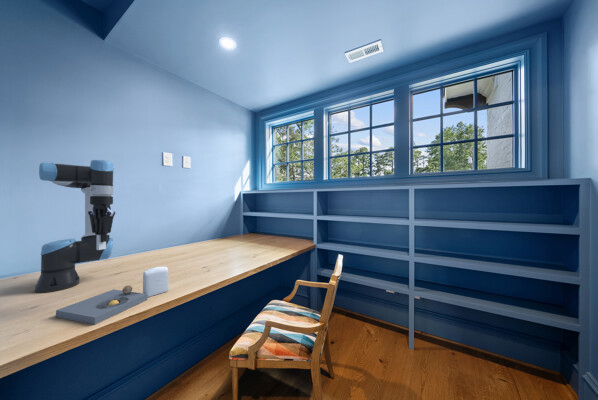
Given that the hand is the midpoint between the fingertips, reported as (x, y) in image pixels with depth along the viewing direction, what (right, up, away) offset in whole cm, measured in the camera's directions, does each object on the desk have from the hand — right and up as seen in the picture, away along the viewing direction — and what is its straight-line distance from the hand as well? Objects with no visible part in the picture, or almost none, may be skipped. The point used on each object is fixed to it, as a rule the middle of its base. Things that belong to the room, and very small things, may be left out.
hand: (101, 249), depth 95 cm
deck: (+8, -22, -7) cm, 25 cm away
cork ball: (+11, -18, +1) cm, 21 cm away
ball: (+12, -21, -8) cm, 25 cm away
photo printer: (+20, -23, +7) cm, 31 cm away
